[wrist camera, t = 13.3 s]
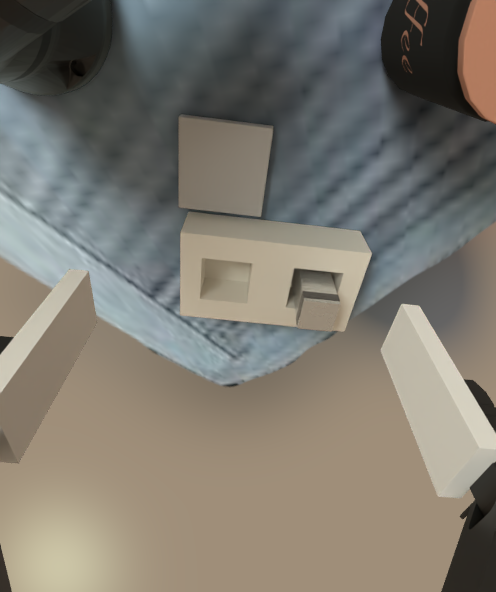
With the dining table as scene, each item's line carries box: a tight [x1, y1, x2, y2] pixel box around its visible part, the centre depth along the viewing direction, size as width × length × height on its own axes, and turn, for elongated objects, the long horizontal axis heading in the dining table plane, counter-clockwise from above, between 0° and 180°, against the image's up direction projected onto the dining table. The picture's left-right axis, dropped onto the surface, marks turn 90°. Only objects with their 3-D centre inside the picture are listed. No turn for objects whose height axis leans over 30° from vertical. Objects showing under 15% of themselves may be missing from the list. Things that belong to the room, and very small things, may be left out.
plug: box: [291, 268, 340, 332], centre depth 45 cm, size 4×4×10 cm
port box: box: [180, 211, 372, 332], centre depth 47 cm, size 22×12×6 cm, turn 84°
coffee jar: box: [381, 0, 496, 124], centre depth 27 cm, size 11×11×18 cm
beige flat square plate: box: [179, 114, 273, 217], centre depth 42 cm, size 10×10×2 cm
